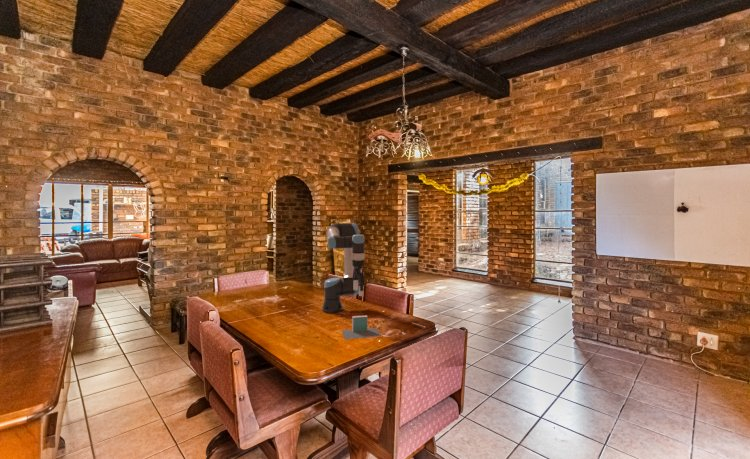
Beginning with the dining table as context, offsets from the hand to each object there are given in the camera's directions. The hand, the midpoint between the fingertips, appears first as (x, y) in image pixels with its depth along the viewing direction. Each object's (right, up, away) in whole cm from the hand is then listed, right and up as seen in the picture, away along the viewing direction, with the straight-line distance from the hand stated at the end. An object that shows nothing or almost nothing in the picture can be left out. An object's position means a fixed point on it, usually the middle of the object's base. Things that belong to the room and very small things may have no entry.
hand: (358, 292), depth 211 cm
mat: (+2, -23, -8) cm, 25 cm away
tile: (+1, -22, -5) cm, 23 cm away
